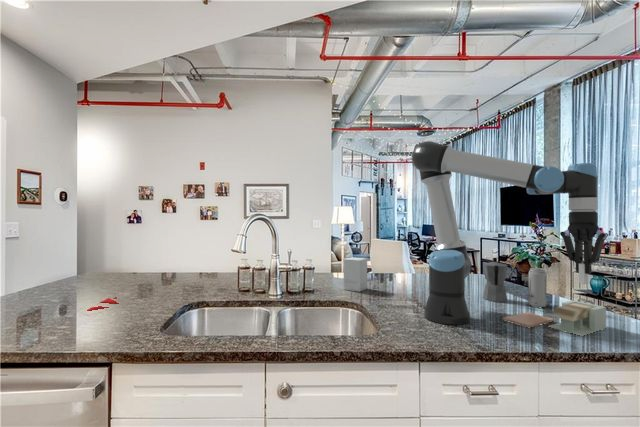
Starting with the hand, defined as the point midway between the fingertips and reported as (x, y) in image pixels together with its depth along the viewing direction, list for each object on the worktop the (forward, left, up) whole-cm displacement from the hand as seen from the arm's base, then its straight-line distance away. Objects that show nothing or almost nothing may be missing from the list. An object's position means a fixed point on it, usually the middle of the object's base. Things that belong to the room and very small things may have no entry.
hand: (583, 283), depth 111 cm
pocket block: (-4, 0, -14) cm, 15 cm away
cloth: (-140, +100, -15) cm, 173 cm away
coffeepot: (+6, +35, -14) cm, 38 cm away
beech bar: (-5, 0, -10) cm, 11 cm away
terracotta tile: (-10, +12, -14) cm, 21 cm away
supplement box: (-35, +80, -14) cm, 89 cm away
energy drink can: (+12, +21, -14) cm, 28 cm away
